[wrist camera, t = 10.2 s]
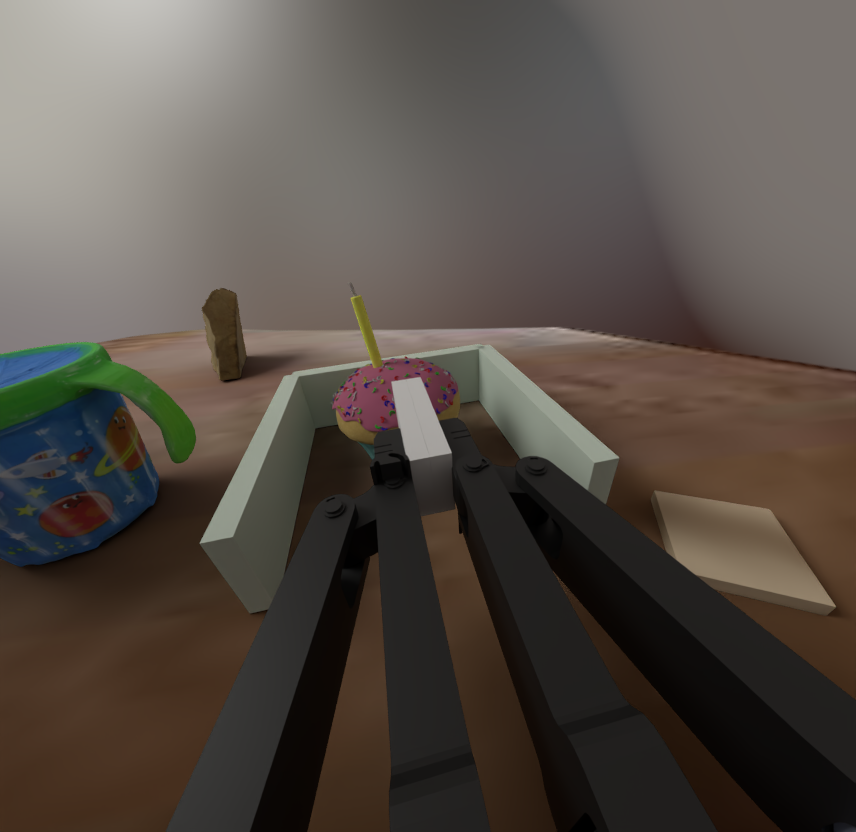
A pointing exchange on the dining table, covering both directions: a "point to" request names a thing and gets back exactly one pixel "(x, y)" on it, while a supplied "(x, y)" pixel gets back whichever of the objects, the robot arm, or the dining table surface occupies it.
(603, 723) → the robot arm
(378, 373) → the cupcake
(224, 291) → the rock
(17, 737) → the dining table surface
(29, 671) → the dining table surface
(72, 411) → the snack cup
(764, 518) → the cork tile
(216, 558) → the tray
